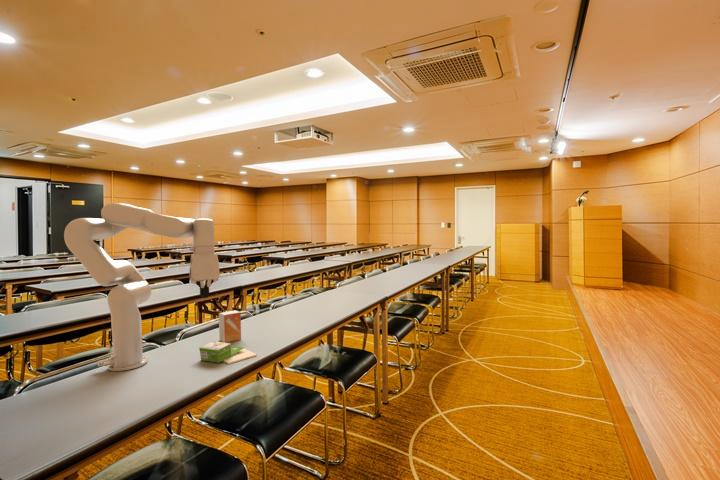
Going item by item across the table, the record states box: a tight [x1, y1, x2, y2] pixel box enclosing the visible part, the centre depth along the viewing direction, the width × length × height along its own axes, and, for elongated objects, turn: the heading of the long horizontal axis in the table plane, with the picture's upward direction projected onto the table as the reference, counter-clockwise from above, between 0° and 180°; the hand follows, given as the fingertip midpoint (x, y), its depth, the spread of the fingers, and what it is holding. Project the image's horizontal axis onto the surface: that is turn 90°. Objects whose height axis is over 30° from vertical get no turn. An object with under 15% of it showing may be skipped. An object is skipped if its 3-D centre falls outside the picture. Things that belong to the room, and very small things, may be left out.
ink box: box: [198, 340, 245, 364], centre depth 143 cm, size 10×5×14 cm
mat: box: [222, 347, 258, 365], centre depth 143 cm, size 12×14×1 cm
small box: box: [218, 309, 242, 343], centre depth 165 cm, size 8×6×13 cm
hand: (204, 297), depth 137 cm, fingers closed
